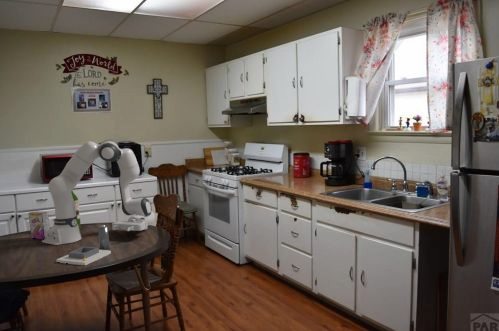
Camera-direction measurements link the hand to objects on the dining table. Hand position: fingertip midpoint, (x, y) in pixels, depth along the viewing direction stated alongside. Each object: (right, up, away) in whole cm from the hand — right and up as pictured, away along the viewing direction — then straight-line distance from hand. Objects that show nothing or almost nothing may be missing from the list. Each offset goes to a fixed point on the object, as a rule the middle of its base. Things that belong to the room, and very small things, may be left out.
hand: (120, 229), depth 227 cm
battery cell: (-4, -9, -11) cm, 15 cm away
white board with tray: (-10, -10, -25) cm, 29 cm away
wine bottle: (-42, -6, +35) cm, 55 cm away
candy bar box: (-54, -8, +16) cm, 57 cm away
